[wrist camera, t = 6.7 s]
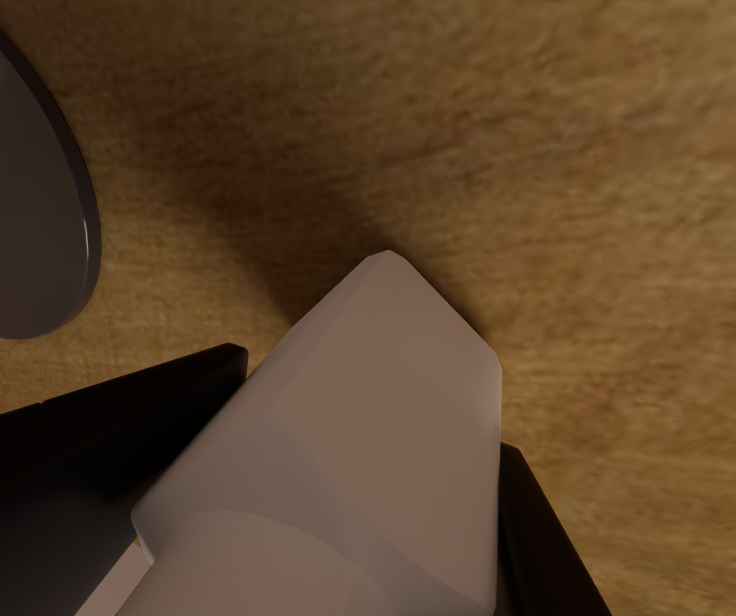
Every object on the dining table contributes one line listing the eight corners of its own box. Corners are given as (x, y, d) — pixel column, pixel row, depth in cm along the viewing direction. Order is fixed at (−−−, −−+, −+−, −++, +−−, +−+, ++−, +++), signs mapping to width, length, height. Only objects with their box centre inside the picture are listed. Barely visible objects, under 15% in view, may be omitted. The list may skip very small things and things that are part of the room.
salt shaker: (287, 330, 12) (-230, 905, 4) (392, 230, 10) (-223, 1010, 2) (393, 431, 12) (159, 1138, 4) (513, 356, 10) (531, 1437, 2)
